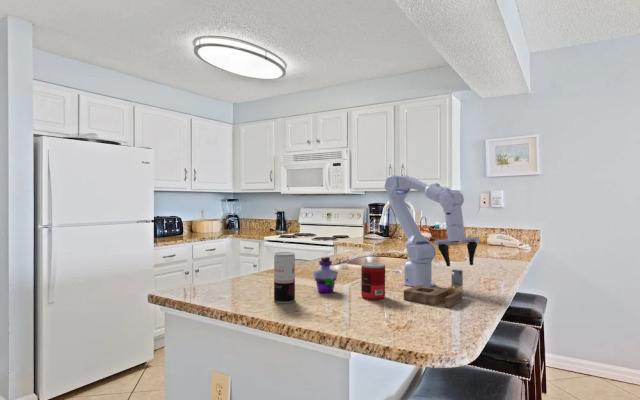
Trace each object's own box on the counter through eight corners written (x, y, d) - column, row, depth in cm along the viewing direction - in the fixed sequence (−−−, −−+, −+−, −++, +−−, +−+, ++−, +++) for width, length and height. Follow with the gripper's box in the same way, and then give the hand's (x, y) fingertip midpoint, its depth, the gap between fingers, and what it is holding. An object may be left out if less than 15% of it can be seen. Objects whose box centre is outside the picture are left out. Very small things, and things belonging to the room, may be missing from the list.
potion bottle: (324, 295, 131) (324, 259, 131) (308, 291, 137) (308, 257, 137) (343, 291, 137) (343, 257, 137) (326, 287, 143) (326, 254, 143)
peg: (449, 294, 134) (449, 270, 134) (453, 292, 137) (454, 269, 137) (460, 295, 132) (460, 271, 132) (464, 293, 134) (464, 270, 134)
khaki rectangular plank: (447, 300, 126) (447, 287, 126) (455, 296, 131) (455, 284, 131) (455, 301, 125) (455, 288, 125) (462, 297, 129) (462, 285, 129)
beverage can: (285, 297, 129) (286, 251, 129) (299, 300, 125) (299, 253, 124) (269, 300, 125) (270, 253, 125) (282, 304, 120) (283, 255, 120)
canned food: (387, 296, 131) (387, 263, 131) (381, 301, 124) (381, 266, 124) (365, 293, 134) (365, 261, 134) (358, 299, 127) (358, 265, 127)
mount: (403, 299, 126) (403, 290, 126) (417, 294, 134) (418, 285, 134) (449, 308, 117) (449, 298, 117) (461, 301, 124) (461, 292, 124)
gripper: (430, 227, 136) (435, 267, 134) (474, 223, 128) (480, 265, 127) (436, 227, 142) (441, 265, 140) (478, 223, 134) (484, 263, 133)
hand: (459, 265), depth 134 cm, fingers open, 7 cm apart
